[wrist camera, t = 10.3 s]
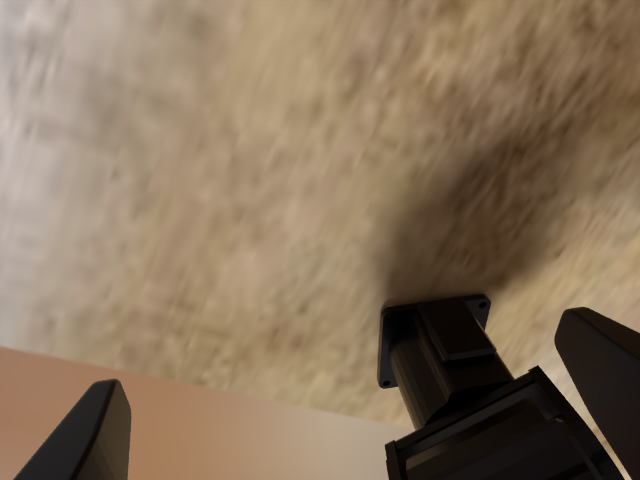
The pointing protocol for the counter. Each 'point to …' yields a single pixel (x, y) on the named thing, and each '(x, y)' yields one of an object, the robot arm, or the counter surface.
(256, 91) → the counter surface
